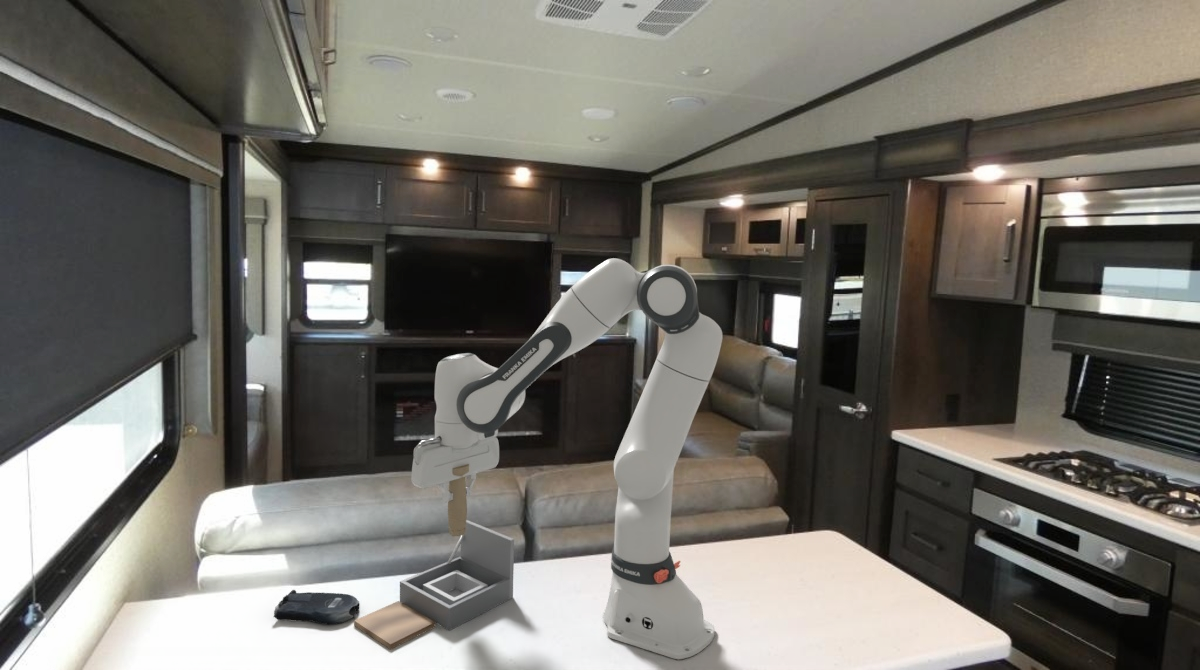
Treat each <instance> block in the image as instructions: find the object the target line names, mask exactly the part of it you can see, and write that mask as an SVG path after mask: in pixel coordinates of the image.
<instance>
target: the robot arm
mask: <svg viewBox="0 0 1200 670" xmlns="http://www.w3.org/2000/svg"><path fill="white" fill-rule="evenodd" d="M698 300H699V299H698V288H697V285H696V283H695V279H694V278H693V276H692V275H691V274H690V272H688V271H687V270H686V269H685V268H683V267H681V266H678V265H675V264H661V265H658V266H655V267H654V268H650V269H647V270H643V271H638V270H637V269H635V267H633V265H631V264H630V263H629V262H626V261H625V260H623V259H621V258H616V257H615V258H614V257H613V258H611V257H610V258H608V259H606V260H604V261H603V262H601V263H600V264H598V265H596V266H595V267H594V268H592V269H590V271H588V272H587V273H585V275H584V276H581V277H580V279H579V280H577V281H576V282H575V283H574V284H573V285H572V286H571V287H570V288H569V289H568V290H567V291H566V292H565V293H564V294H563V295H562V296H561V298H560V299H559V300H557V302H556V304H555V305H554V306H553V307H552V309H551V310H550V311H549V313H547V315H546V317H545V318H544V320H543V321H542V322H541V324H540V325H539V326H538V328H537V329H536V330H535V332H534V333H533V334H532V336H530V338H529V339H528V340H527V341H526V342H525V343H524V344H523V345H522V346H521V347H520V348H519V349H517V350H516V351H515V352H514V354H513V355H511V356H510V357H509V358H508V359H507V360H505V362H504V363H502V365H500V367H495V366H492V365H490V364H489V363H486V362H485V361H483V360H482V359H480V358H479V357H478V356H477V355H476V354H474V353H471V352H465V353H457V354H453V355H449V356H446V357H443V358H442V359H440V361H438V363H437V366H436V370H435V377H434V402H435V405H436V411H435V415H434V437H431V438H429V439H423V440H420V441H419V442H418V444H417V445H416V446H415V447H414V449H413V459H412V467H411V479H410V481H411V483H412V484H413V485H414V487H417V488H420V489H424V490H426V489H429V488H432V487H436V486H437V488H438V489H439V491H440V493H441V501H442V502H443V503H447V504H448V502H450V501H453V493H452V492H450V491H449V481H452V480H455V479H459V478H461V477H465V482H466V497H468V496H471V495H472V493H473V486H474V483H475V481H476V479H477V474H478V473H482V472H484V471H488V470H491V469H495V468H496V467H497V465H498V464H499V461H500V445H499V440H498V437H497V436H498V435H499V429H500V428H501V427H502V426H503V425H504V424H505V423H506V422H507V420H509V419H510V418H511V417H512V416H514V415H515V414H516V413H517V412H518V411H519V410H520V409H521V408H522V407H523V405H524V403H525V400H526V393H527V392H526V390H527V388H529V386H531V385H532V384H533V383H534V382H535V381H536V380H537V379H538V378H539V377H540V376H542V375H543V374H544V372H546V371H547V370H548V369H549V368H551V367H552V366H553V365H555V364H557V363H558V362H560V361H562V360H563V359H566V358H568V357H570V356H572V355H573V354H576V353H578V352H579V351H581V350H582V349H585V348H587V347H588V346H589V345H591V344H593V343H594V342H596V341H597V340H599V339H600V338H601V337H602V336H603V335H605V334H606V333H608V331H609V330H611V328H612V327H613V326H614V325H616V323H618V322H619V321H620V320H621V319H622V318H623V317H624V316H626V315H627V314H629V313H630V312H633V311H641V312H642V313H643V314H644V316H646V318H648V319H649V320H650V321H651V322H652V323H654V324H655V325H656V326H658V327H659V328H660V329H661V330H662V331H664V337H663V342H662V345H661V347H660V350H659V352H658V354H657V356H656V359H655V362H654V364H653V366H652V369H651V370H650V374H649V376H648V378H647V381H646V383H645V385H644V388H643V390H642V393H641V395H640V397H639V400H638V402H637V404H636V406H635V409H634V412H633V414H632V416H631V418H630V421H629V423H628V425H627V428H626V430H625V432H624V434H623V438H622V440H621V442H620V444H619V447H618V450H617V452H616V454H615V456H614V457H615V458H614V460H613V474H614V478H615V481H616V484H617V486H618V488H617V489H618V490H617V498H616V505H615V513H614V514H615V515H614V517H615V518H614V540H613V541H614V543H613V548H612V550H611V559H610V561H611V562H610V569H611V570H612V575H611V584H610V590H609V595H608V599H607V602H606V606H605V609H604V612H603V617H602V618H603V621H604V624H605V625H606V627H607V633H606V635H607V637H609V638H610V639H613V640H616V641H618V642H621V643H625V644H627V645H631V646H634V647H636V648H641V649H643V650H645V651H646V650H647V651H648V652H653V653H655V654H659V655H662V656H664V657H668V658H671V659H675V660H682V659H684V660H685V659H687V658H690V657H692V656H693V657H694V656H695V655H696V654H698V653H700V652H702V651H703V650H704V649H705V648H707V646H709V645H710V644H711V642H712V641H713V640H714V637H715V626H714V624H713V623H711V622H709V621H707V620H706V619H704V611H703V606H702V602H701V600H700V599H699V598H698V596H696V594H695V593H694V592H693V591H692V590H691V589H690V588H689V587H688V585H687V584H686V583H685V582H684V581H683V580H682V578H681V577H680V576H678V573H677V569H678V568H681V564H680V563H681V560H678V561H676V562H675V563H674V559H673V556H672V553H671V552H670V539H671V536H670V535H671V518H672V505H673V504H672V503H673V490H674V489H673V487H674V473H675V472H674V471H675V467H676V465H677V463H678V459H679V457H680V454H681V453H682V450H683V446H684V445H685V441H686V439H687V437H688V435H689V431H690V429H691V426H692V423H693V420H694V419H695V416H696V413H697V411H698V409H699V406H700V404H701V402H702V399H703V397H704V394H705V392H706V390H707V388H708V385H709V383H710V380H711V379H712V376H713V373H714V371H715V368H716V366H717V362H718V358H719V357H720V351H721V348H722V342H723V331H722V328H721V327H720V325H719V324H718V323H717V322H716V321H715V320H714V319H712V318H711V317H709V316H707V315H705V314H702V313H701V312H700V309H699V301H698ZM467 464H469V472H467V473H466V474H464V475H463V476H456V475H453V473H452V469H453V468H456V467H460V466H463V465H467Z"/></svg>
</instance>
